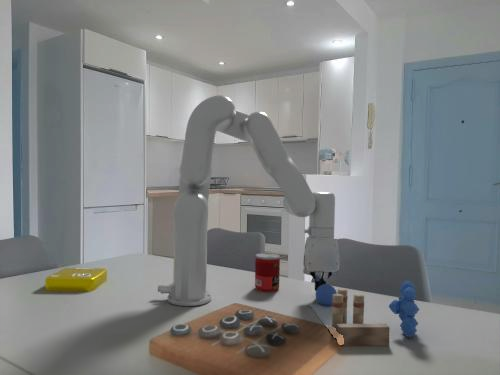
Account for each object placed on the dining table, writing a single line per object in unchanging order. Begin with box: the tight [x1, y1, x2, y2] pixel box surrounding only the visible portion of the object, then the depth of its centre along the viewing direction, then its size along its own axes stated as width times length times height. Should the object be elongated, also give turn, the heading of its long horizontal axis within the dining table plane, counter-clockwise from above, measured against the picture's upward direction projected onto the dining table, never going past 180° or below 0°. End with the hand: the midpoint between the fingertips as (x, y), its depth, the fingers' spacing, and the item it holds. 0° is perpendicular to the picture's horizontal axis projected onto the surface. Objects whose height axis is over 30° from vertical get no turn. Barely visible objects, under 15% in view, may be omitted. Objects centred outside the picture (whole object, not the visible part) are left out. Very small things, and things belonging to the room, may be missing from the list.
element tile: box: [44, 267, 108, 293], centre depth 124 cm, size 15×15×5 cm
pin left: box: [332, 294, 343, 328], centre depth 89 cm, size 2×2×8 cm
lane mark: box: [309, 303, 353, 327], centre depth 97 cm, size 9×24×1 cm, turn 4°
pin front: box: [336, 288, 349, 324], centre depth 94 cm, size 2×2×8 cm
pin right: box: [352, 293, 365, 324], centre depth 90 cm, size 2×2×8 cm
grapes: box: [388, 280, 420, 338], centre depth 89 cm, size 12×7×12 cm, turn 164°
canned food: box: [254, 252, 281, 293], centre depth 125 cm, size 8×8×11 cm
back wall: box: [336, 323, 390, 347], centre depth 83 cm, size 11×2×4 cm, turn 94°
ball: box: [315, 283, 337, 306], centre depth 109 cm, size 6×6×6 cm
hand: (320, 293), depth 116 cm, fingers closed
